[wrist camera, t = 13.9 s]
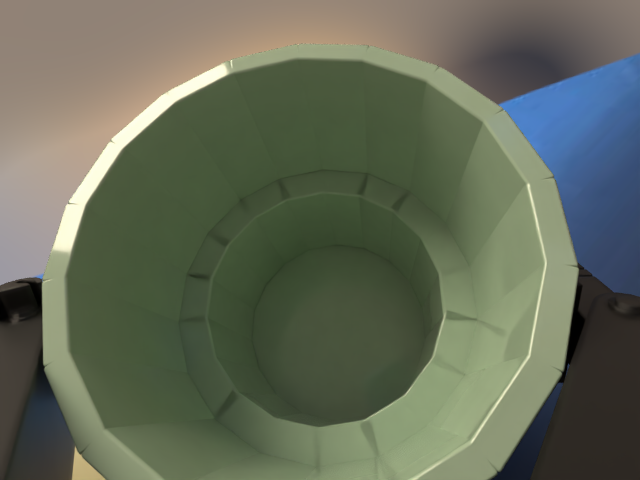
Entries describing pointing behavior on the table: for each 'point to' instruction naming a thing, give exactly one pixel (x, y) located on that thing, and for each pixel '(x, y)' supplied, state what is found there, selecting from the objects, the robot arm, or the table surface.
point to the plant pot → (310, 278)
